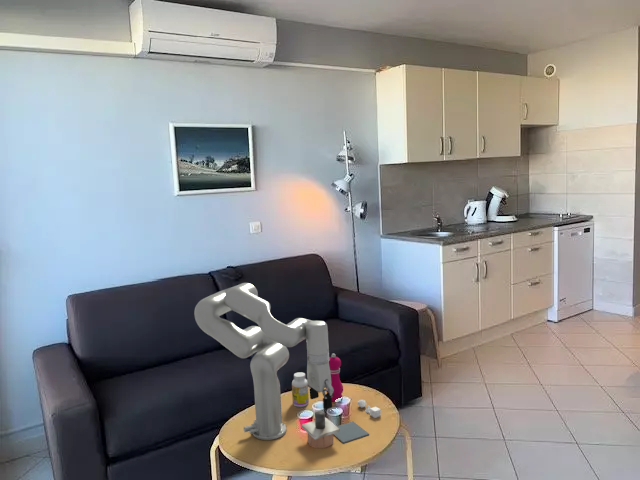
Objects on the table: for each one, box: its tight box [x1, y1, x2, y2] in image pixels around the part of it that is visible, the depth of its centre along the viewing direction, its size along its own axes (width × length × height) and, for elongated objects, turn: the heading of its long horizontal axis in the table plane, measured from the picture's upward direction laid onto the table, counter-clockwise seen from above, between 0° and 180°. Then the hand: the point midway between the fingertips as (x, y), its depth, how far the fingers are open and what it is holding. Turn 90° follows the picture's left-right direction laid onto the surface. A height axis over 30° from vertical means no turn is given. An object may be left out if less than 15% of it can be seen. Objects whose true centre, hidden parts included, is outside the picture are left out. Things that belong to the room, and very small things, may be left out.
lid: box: [301, 410, 340, 439], centre depth 188 cm, size 10×10×6 cm
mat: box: [333, 420, 370, 444], centre depth 194 cm, size 11×11×1 cm
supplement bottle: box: [291, 371, 310, 408], centre depth 217 cm, size 7×7×13 cm
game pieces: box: [357, 399, 382, 419], centre depth 210 cm, size 12×3×3 cm, turn 31°
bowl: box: [307, 433, 334, 449], centre depth 189 cm, size 9×9×4 cm
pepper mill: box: [325, 353, 344, 403], centre depth 220 cm, size 7×7×20 cm
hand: (321, 403), depth 186 cm, fingers open, 9 cm apart
